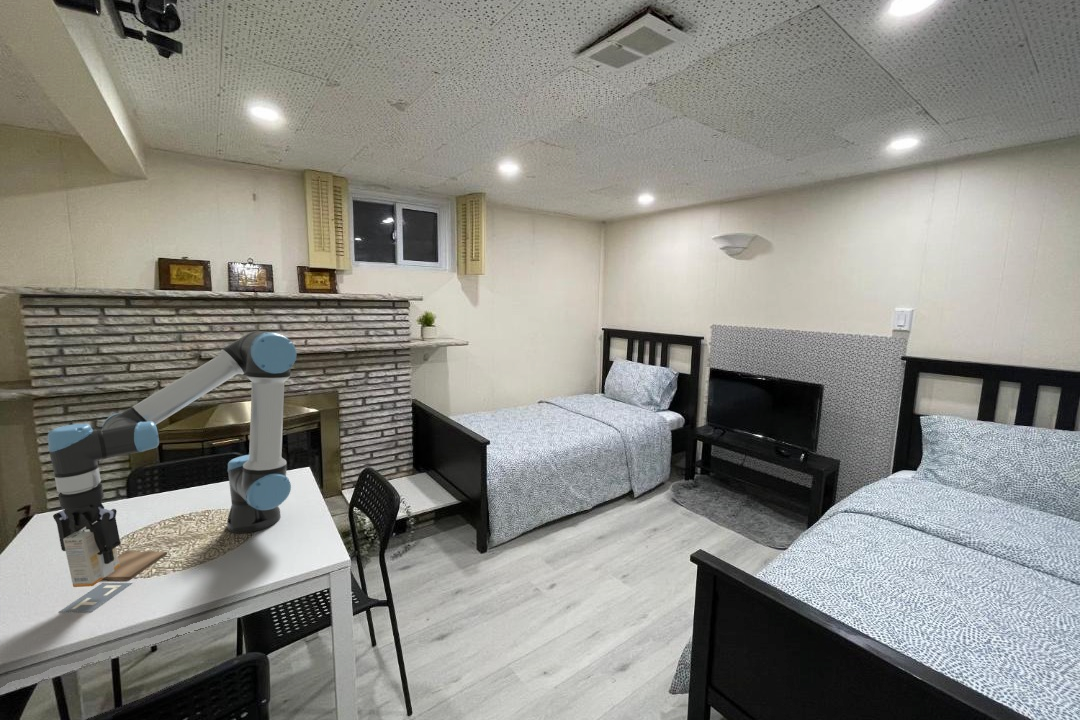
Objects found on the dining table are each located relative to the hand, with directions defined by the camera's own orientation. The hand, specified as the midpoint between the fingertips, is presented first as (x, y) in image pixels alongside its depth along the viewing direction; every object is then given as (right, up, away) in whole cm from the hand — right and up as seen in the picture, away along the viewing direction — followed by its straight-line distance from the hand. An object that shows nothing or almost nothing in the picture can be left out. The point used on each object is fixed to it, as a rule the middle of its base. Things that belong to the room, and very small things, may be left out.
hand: (96, 574), depth 113 cm
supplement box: (0, -1, 0) cm, 1 cm away
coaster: (-4, -4, +13) cm, 15 cm away
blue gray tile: (0, -6, +1) cm, 6 cm away
